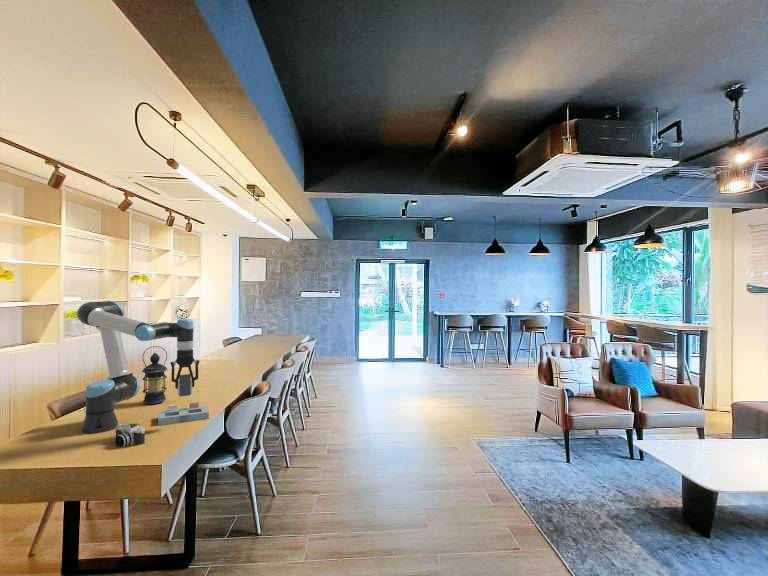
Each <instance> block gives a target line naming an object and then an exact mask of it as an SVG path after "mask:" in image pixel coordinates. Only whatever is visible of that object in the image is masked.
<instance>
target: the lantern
mask: <svg viewBox="0 0 768 576" xmlns="http://www.w3.org/2000/svg"><path fill="white" fill-rule="evenodd" d="M151 348H161V349H162V350H163V351H164V352H165V355H166V357H165V360H164V363H163V364H161V363H159V362H160V355H158V353H157V352H154V353H153V354H151V356H150V358H149V360H150V362H151V363H150V364H149V365H146V362H145V359H144V358H145V357H144V355H145V353H146V351H147V350H149V349H151ZM167 360H168V352H167V350H165V348H164V347H162V346H158V345H156V346H154V345H153V346H150V347H148V348H146V349H145V351H144V352H143V353H142V362H143V364H144V368H143V369H142V371H141V373H144V375H143V376H144V377H143V378H142V380H143V386H144V387H143V390H142V391H141V392H142V393H144V394H145V395H144V398H143V400H142V402H143V403H145V404H147V405H156V404H160V403H161V404H162V403H163V402H164V401H166V400H167V397H166V391H167V387H166V379H167V377H168V376H167V375H166V374H165V372H166V371H167V370H168V368H167V366H165V364H166V363H167Z"/></svg>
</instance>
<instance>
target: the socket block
mask: <svg viewBox="0 0 768 576" xmlns="http://www.w3.org/2000/svg"><path fill="white" fill-rule="evenodd" d="M166 406H167V409H166V410H159V411H158V415H157V418H158V419H157V426H164V425H165V426H166V425H172V424H173V425H174V424H180V423H181V424H182V423H188V422H193V421H201V420H208V419H210V416H209V415H210V412H209V410H208V407H207V406H208V405H200V406H199V401H196V402H195V401H194V402H189V406H188V407H184V408H177V407H178V406H177V404H171V405H170V404H169V405H166Z"/></svg>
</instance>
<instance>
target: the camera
mask: <svg viewBox="0 0 768 576" xmlns="http://www.w3.org/2000/svg"><path fill="white" fill-rule="evenodd" d="M145 431H146V429H145V427H143V426H140V423H118V425H117V427H116V428H115V441H114V442H115V445H116V447H119V448H125V447H127V446H133V445H135V446H136V445H137V446H138V445H139V446H141V445H144V444H145V441H146V440H145V436H146V435H145V434H146V432H145Z"/></svg>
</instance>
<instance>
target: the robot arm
mask: <svg viewBox="0 0 768 576" xmlns="http://www.w3.org/2000/svg"><path fill="white" fill-rule="evenodd" d="M125 315H126V313H125V308H124V307H123V306H122V304H120V303H119V302H117V301H110V300H107V301H87V302H85V303H83V304H82V305H80V306H79V308H78V309H77V312H76V317H77V319H78V320H79V321H80V323H82V324H84V325H87V326H90V327H95V329H97V330H98V331H99V332H100V335H101V341H102V345H103V350H104V354H105V359H106V363H107V370H108V373H109V375H108V377H106V379H101V380H96V381H94V382H91V383H89V384H88V385H87V386H86V388H85V393H84V395H85V417H84V420H83V422H82V425H81V427H80V432H81V433H82V434H87V435H93V434H100V433H102V434H103V433H106V432H110V431H114V430H116V427H117V425H118V424H119V422H118V419H117V415H116V413H115V404H119V403H121V402H124V401H127V400H131V399H132V398H134V397H136V396H137V395H138V393H139V391H140V390H141V382H140V380H139V378H137V376H134V375H133V373H134V372H132V371H131V370H129V367H128V362H127V361H128V360H127V357H126V352H125V348H124V343H123V339H122V334H121V333H123V334H126V335H129V336H133V337H135V338H136V339H137V340H138V341H140V342H149V341H153V340H160V339H164V338H176V348H177V350H176V359H175V360H174V361H171V362H170V365H171V377H170V378H171V383H172V382H174V383H175V384H174V385H175V387H174V388H175V390H177V396H179V395H180V382H179V377H180V375H181V372H182V370H183V368H188V370H189V371H188V372H189V374H190V375H191V395H193V388H194V387H195V381H197V380H199V365H200V360H199V359H195V358H194V349H193V348H194V328H195V327H194V320H193V319H192V318H180V319H177V322H165V321H163V322H158V323H154V324H153V323H152V324H150V323H147V322H143V321H140V320H136V319H133V318H129V317H125ZM193 363H194V365H195V367H194V369H195V370H194V371H195V373H193V370H192V367H191V366H192V364H193ZM176 364H177V366H179V367H178V369H177V370H178V371H177V374H176V377H175V366H176ZM194 374H195V376H194ZM179 397H180V396H179Z"/></svg>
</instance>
